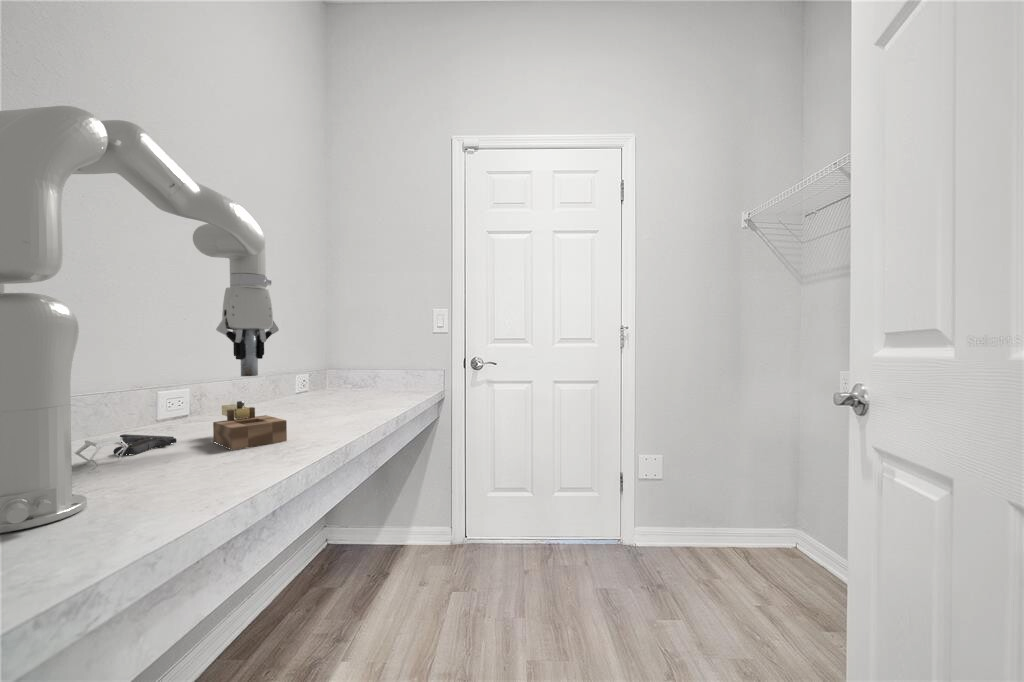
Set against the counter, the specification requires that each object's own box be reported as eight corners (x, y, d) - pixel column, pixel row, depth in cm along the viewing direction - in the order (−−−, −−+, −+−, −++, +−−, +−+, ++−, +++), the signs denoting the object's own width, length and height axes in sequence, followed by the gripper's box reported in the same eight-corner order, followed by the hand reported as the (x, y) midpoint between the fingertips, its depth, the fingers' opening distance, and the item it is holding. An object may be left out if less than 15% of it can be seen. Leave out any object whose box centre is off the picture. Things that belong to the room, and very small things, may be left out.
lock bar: (249, 417, 115) (249, 401, 115) (236, 418, 113) (236, 402, 113) (234, 413, 122) (234, 398, 122) (221, 414, 120) (221, 399, 120)
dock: (286, 440, 112) (286, 410, 112) (232, 450, 103) (231, 416, 103) (265, 434, 120) (265, 405, 120) (213, 442, 111) (212, 411, 111)
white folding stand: (75, 462, 95) (74, 438, 94) (128, 455, 100) (128, 432, 100) (70, 475, 85) (70, 449, 85) (129, 467, 91) (128, 442, 91)
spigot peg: (254, 374, 114) (253, 326, 114) (260, 375, 112) (259, 326, 112) (238, 375, 111) (237, 326, 111) (244, 376, 109) (243, 325, 109)
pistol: (129, 446, 98) (184, 434, 110) (69, 443, 104) (127, 432, 116) (129, 458, 98) (184, 445, 110) (70, 454, 104) (128, 442, 116)
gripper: (276, 286, 120) (277, 357, 120) (203, 281, 107) (204, 360, 107) (289, 284, 115) (290, 357, 115) (214, 278, 102) (215, 361, 103)
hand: (249, 358), depth 111 cm, fingers closed on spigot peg, 3 cm apart
